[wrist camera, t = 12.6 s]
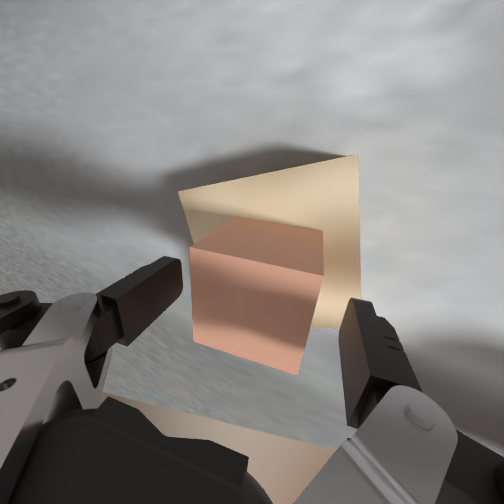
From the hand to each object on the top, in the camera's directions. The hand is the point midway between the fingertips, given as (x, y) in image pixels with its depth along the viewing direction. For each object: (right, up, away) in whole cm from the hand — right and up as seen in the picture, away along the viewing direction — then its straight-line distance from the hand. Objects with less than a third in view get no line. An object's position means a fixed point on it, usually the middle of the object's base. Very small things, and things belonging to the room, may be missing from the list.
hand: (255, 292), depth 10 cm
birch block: (+2, +3, +7) cm, 9 cm away
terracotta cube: (+1, +1, +3) cm, 4 cm away
